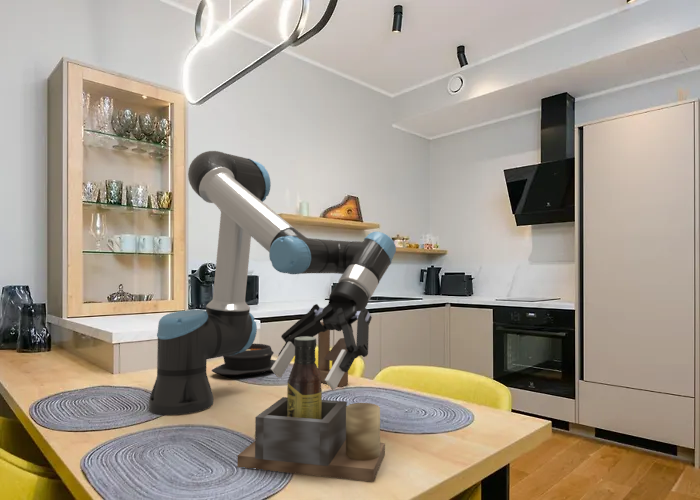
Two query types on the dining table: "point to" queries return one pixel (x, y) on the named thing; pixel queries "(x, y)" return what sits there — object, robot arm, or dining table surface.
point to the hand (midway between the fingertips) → (301, 379)
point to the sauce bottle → (304, 382)
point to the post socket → (318, 441)
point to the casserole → (247, 361)
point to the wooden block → (329, 356)
